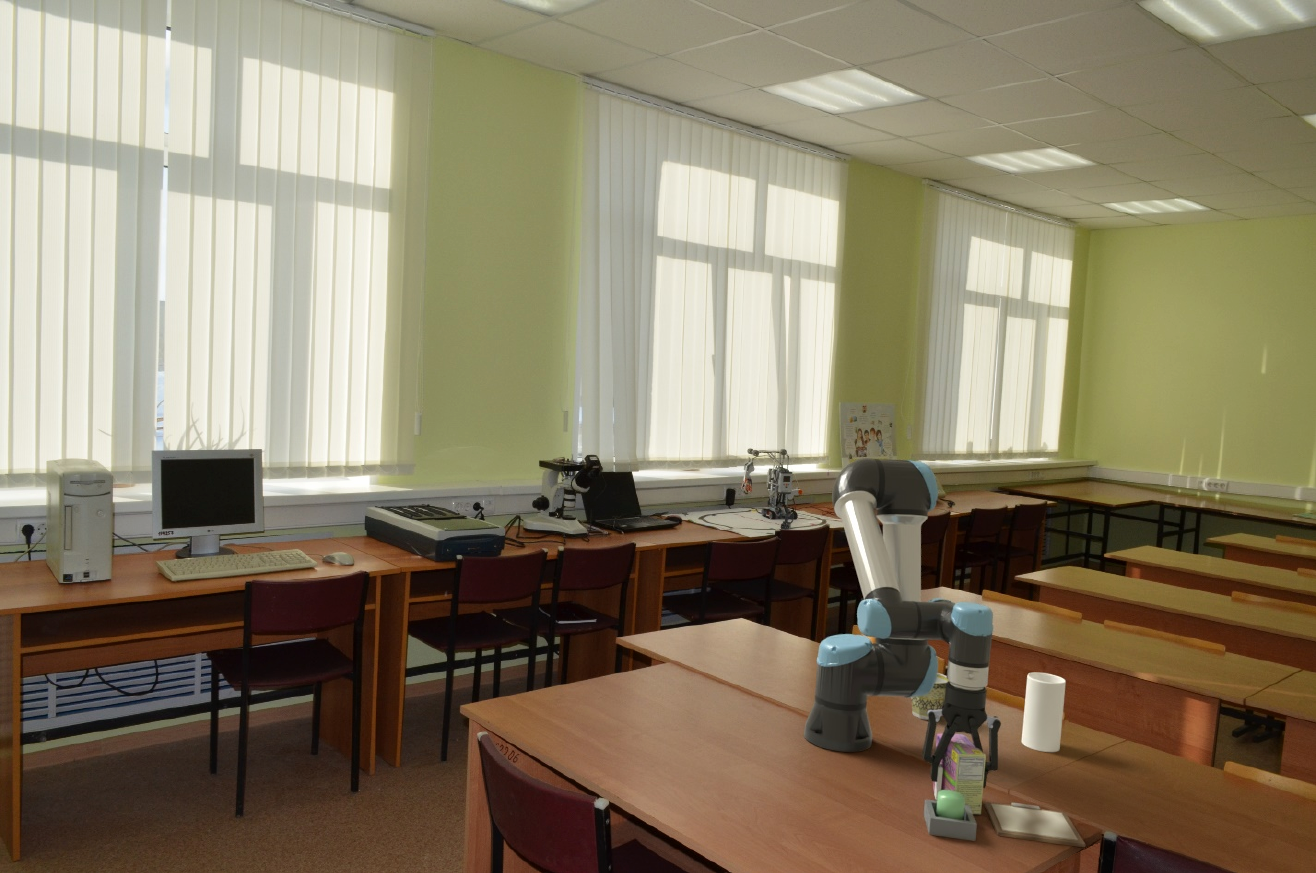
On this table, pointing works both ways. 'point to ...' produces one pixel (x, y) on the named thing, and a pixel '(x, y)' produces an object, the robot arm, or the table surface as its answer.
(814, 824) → the table surface
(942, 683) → the ceramic cup
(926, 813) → the button housing
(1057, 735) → the cup
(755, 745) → the table surface
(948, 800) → the button
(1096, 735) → the table surface
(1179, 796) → the table surface
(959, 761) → the box
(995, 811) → the clipboard
